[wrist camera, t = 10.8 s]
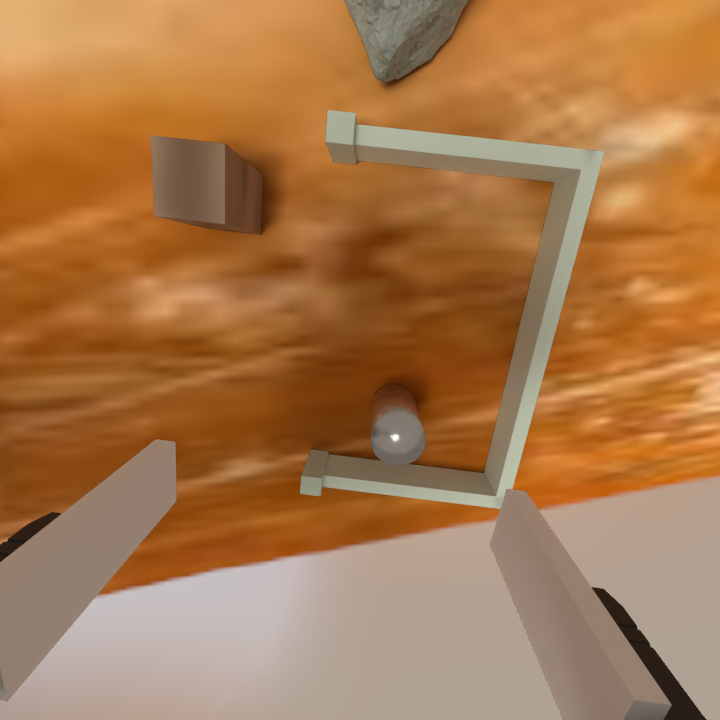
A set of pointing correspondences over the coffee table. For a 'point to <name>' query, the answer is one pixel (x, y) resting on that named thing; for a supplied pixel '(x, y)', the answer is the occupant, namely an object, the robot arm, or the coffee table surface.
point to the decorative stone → (403, 32)
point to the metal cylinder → (396, 426)
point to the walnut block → (205, 185)
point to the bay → (540, 314)
